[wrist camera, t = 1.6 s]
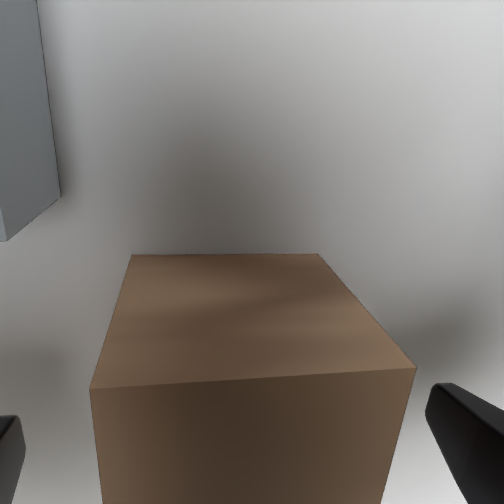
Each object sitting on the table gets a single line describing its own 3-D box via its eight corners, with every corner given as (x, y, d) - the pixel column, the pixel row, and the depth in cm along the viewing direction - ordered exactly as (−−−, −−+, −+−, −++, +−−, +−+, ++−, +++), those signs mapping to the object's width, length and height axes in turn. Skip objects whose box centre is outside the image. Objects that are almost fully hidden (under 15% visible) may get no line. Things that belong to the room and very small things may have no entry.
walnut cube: (317, 252, 11) (416, 367, 6) (298, 393, 13) (364, 563, 8) (132, 253, 10) (88, 389, 5) (140, 405, 12) (114, 603, 7)
